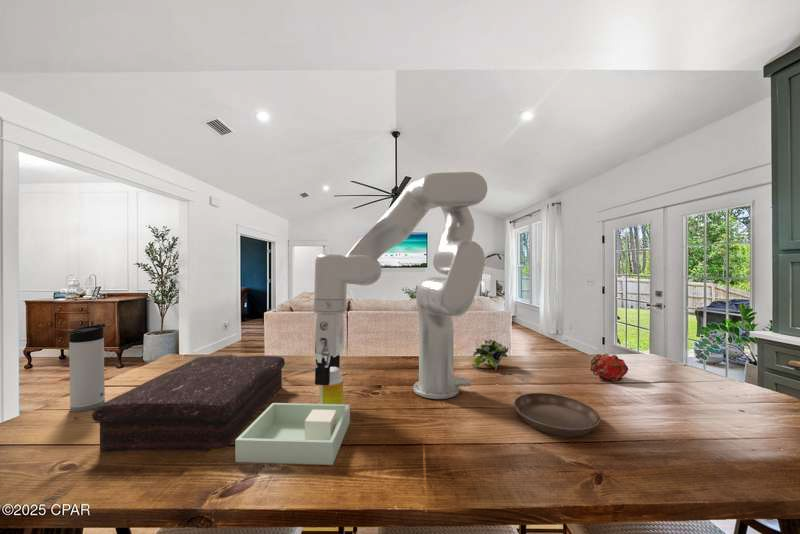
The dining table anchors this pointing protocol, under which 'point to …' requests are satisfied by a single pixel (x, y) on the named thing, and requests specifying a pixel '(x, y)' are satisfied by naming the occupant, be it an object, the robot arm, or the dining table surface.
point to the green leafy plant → (490, 353)
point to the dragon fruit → (608, 367)
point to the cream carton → (320, 424)
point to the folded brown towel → (190, 405)
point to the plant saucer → (557, 414)
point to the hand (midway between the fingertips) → (327, 377)
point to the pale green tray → (290, 436)
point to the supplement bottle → (332, 388)
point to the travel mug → (86, 368)
